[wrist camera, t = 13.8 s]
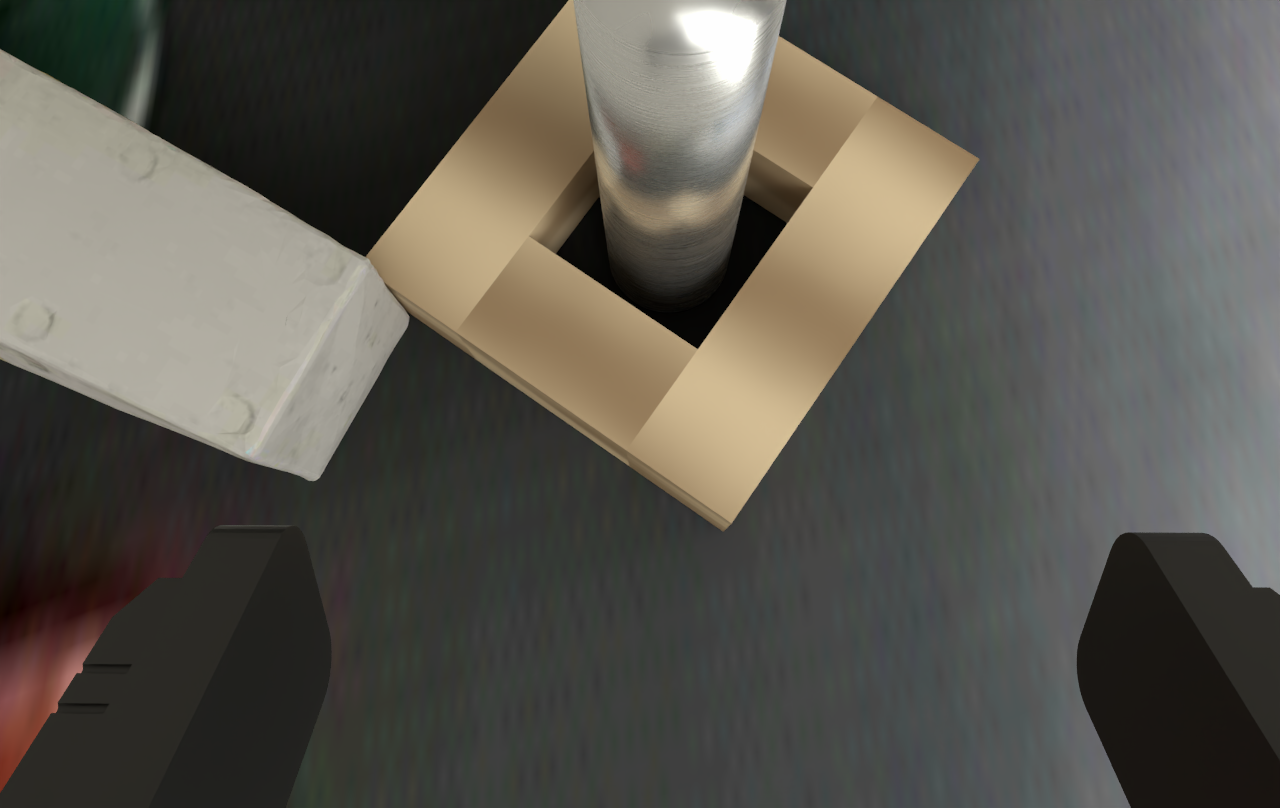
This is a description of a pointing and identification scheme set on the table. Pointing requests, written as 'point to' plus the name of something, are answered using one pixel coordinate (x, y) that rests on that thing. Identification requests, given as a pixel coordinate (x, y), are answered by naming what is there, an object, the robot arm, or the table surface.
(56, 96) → the block
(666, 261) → the pin
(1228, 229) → the table surface
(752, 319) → the socket
